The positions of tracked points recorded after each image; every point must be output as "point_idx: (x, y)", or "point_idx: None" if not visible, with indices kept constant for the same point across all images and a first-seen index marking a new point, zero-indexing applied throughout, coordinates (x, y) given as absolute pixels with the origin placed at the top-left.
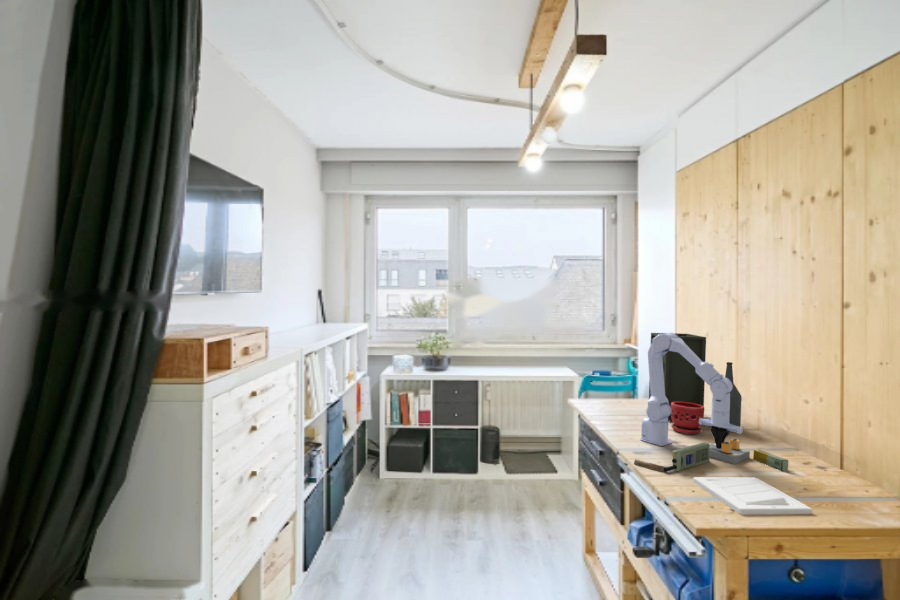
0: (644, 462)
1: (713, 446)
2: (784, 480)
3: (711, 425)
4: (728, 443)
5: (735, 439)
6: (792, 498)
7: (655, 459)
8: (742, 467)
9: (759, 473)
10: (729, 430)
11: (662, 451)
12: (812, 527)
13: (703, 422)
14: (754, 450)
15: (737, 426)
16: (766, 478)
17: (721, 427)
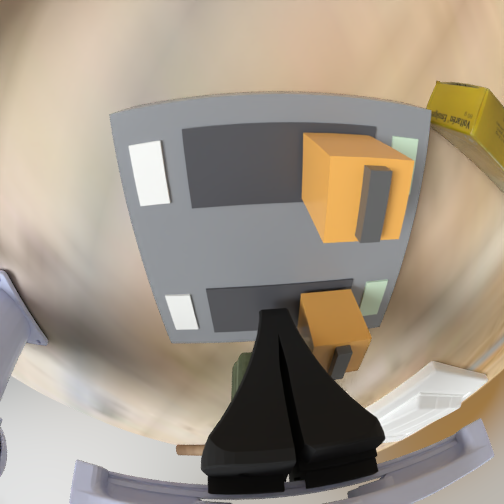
0: (200, 455)
1: (182, 254)
2: (500, 289)
3: (204, 496)
4: (350, 351)
5: (383, 214)
6: (475, 381)
7: (168, 423)
8: (400, 302)
9: (451, 302)
10: (387, 465)
11: (103, 377)
12: (469, 397)
13: (120, 493)
14: (473, 139)
15: (462, 475)
16: (462, 320)
17: (312, 492)
